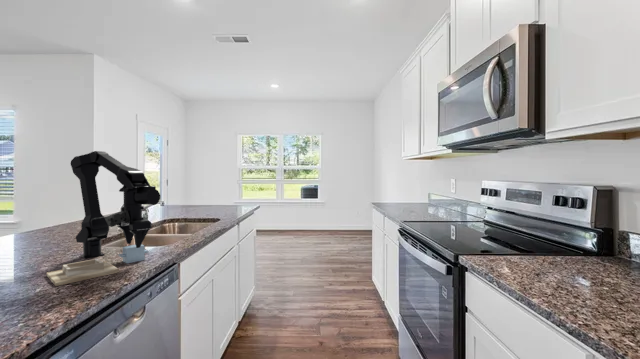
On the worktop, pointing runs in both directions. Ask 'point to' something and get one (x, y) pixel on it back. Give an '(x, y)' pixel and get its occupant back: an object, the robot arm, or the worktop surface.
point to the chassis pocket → (81, 271)
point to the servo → (133, 253)
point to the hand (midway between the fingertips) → (133, 245)
